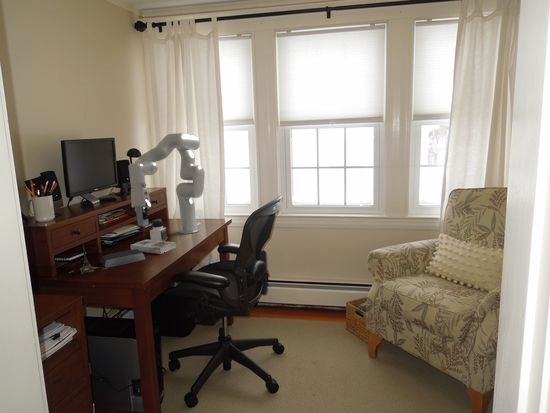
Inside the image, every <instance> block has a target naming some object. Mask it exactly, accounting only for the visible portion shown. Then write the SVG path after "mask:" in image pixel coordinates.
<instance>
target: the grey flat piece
mask: <svg viewBox="0 0 550 413" xmlns="http://www.w3.org/2000/svg"><path fill="white" fill-rule="evenodd" d="M176 248H177V242H175V241H166V240H165V241H157V240H151V239H144V240H141V241H137V242H135V243H133V244H130V250H134V249H138V250H139V251H140V252H142V253H152V254H158V255H159V254H160V255H161V254H165V253H166V252H167V253H168V252H169V251H172V250H174V249H176ZM164 252H165V253H164Z"/></svg>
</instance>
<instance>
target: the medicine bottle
mask: <svg viewBox="0 0 550 413" xmlns="http://www.w3.org/2000/svg"><path fill="white" fill-rule="evenodd" d="M163 222H164V221H162V220H161V219H158V220H154V221H152V222H151V225H152V228H151V229H150V230H149V236H150V240H157V241H166V240H167V239H168V232H167V227H164V223H163Z"/></svg>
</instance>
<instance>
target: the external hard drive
mask: <svg viewBox="0 0 550 413" xmlns="http://www.w3.org/2000/svg"><path fill="white" fill-rule="evenodd" d="M144 260H146V257H145V255H144V252H141V251H139V250H138V249H134V250H131V249H128V250H127V249H126V250H124V251H123V250H121V251H117V252H113V253H108V254H104V255H102V256H101V258H100V264H102V266H103V268H107V269H109V268H113V267H117V266H118V267H119V266H122V265H128V264H133V263H137V262H141V261H144Z"/></svg>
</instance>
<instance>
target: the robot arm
mask: <svg viewBox="0 0 550 413" xmlns="http://www.w3.org/2000/svg"><path fill="white" fill-rule="evenodd" d="M200 144H201V142H200V139H199V138H198V136H195V135H191V134H187V133H183V132H182V133H181V132H179V133H178V132H177V133H168V134H166V135H165V136H164V137H163V138H162V139H161V140H160V142H158V144H157V145H156V146H155V147H153V148H152V149H150V150H148V151H146V152H144V153H143V154H141V155H140V156H139V157H138V158H137V159H136V160H135V161H134V163H130V164H129V165H128V172H129V173H128V174H129V180H130V187H131V188H130V201H131V205H130V207H131V208H133V210H134V212H135V213H136V206H138V207H142V210H143V220H145V219H148V220H149V210H150V209H151V208H152V205H151V198H150V194H149V190H148V187H147V184H146V180H145V179H146V177H145V176H153V175H155V174H156V173H157V172H158V170H159V169H158V168H159V167H158V164H157V163H156V162H160V161H163V160H165V159H167V158H168V157H169V155H170V154H171V153H172V152H173V151H174V150H175V149H176V150H177V152H178V153H179V156H180V167H179V168H180V170H179V177H180V179H181V180H183V181H192V182H180V183H178V184H177V185H176V188H175V193H176V196H177V199H178V200H177V201H178V205H179V217H180V218H179V219H180V224H181V225H180V227H181V229H179V231H178V232H179V233H180V234H182V235H185V234H186V235H187V234H194V233H197V232H199V231H200V228H199V226H200V227H201V225H202V224H201V222H197V217H196V216H197V215H196V207H195V206H196V204H195V201H194V199H198V198H201V197H202V195H203V193H204V186H205V177H206V176H205V170H204V167H202V166H201V165H197V164H195V163H196V160H195V158H196V157H195V155H194V152H192V151H196V150H198V149H199V148H200V146H201V145H200ZM135 215H136V216H137V214H135Z"/></svg>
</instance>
